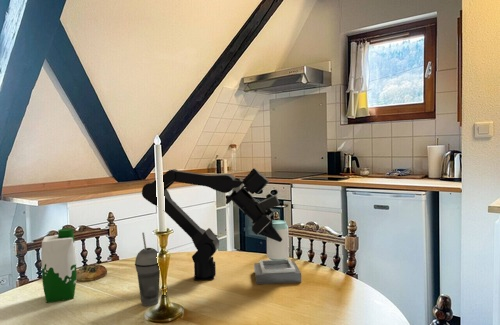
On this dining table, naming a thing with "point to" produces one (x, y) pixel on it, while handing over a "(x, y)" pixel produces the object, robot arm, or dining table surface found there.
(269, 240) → the can
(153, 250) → the beverage cup
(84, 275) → the bread roll
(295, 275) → the grey rectangular tray
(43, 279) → the milk carton
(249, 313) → the dining table surface
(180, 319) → the dining table surface
